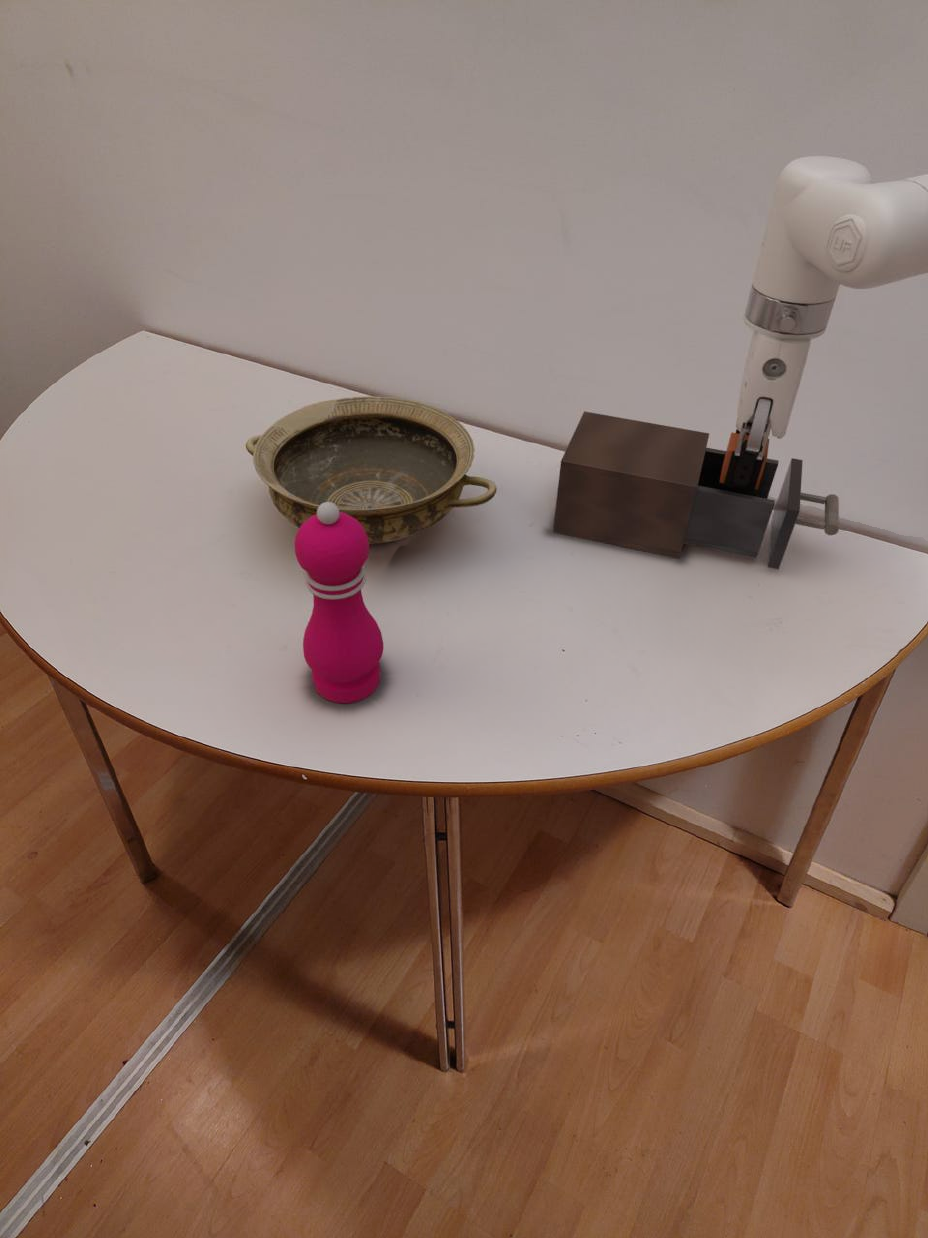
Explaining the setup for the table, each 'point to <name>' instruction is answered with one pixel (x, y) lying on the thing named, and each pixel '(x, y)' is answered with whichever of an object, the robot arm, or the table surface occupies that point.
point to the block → (732, 447)
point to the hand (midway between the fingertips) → (741, 474)
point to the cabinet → (629, 483)
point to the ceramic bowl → (369, 464)
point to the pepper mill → (338, 606)
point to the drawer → (751, 511)
